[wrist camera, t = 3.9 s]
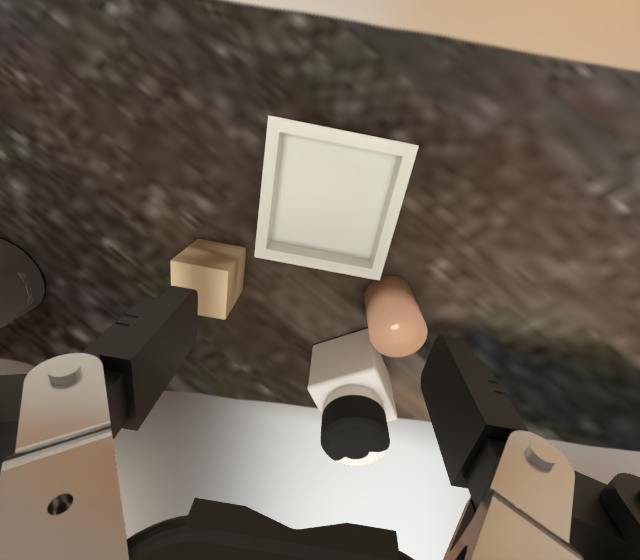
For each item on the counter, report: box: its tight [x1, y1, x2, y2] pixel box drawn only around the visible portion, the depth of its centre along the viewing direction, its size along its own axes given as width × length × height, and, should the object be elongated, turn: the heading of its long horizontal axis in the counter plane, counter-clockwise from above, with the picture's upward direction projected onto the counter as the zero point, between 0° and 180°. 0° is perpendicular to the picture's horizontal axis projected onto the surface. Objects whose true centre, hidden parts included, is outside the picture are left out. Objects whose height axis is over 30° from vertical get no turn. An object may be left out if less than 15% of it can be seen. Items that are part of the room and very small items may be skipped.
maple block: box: [171, 239, 246, 320], centre depth 32 cm, size 5×5×6 cm
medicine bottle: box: [307, 328, 397, 466], centre depth 33 cm, size 7×7×12 cm
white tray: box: [254, 116, 419, 281], centre depth 29 cm, size 12×12×3 cm
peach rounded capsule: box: [364, 275, 427, 357], centre depth 32 cm, size 5×5×7 cm
